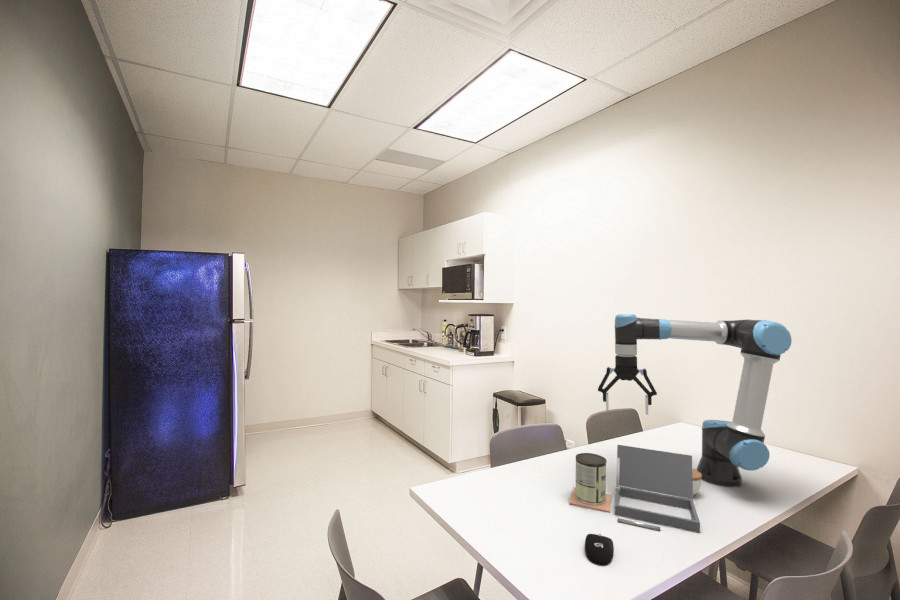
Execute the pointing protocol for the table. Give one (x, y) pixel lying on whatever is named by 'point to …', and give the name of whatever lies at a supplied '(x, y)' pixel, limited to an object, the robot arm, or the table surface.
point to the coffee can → (590, 478)
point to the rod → (638, 524)
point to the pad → (602, 507)
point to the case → (655, 485)
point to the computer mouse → (599, 549)
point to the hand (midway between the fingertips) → (626, 412)
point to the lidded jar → (696, 481)
